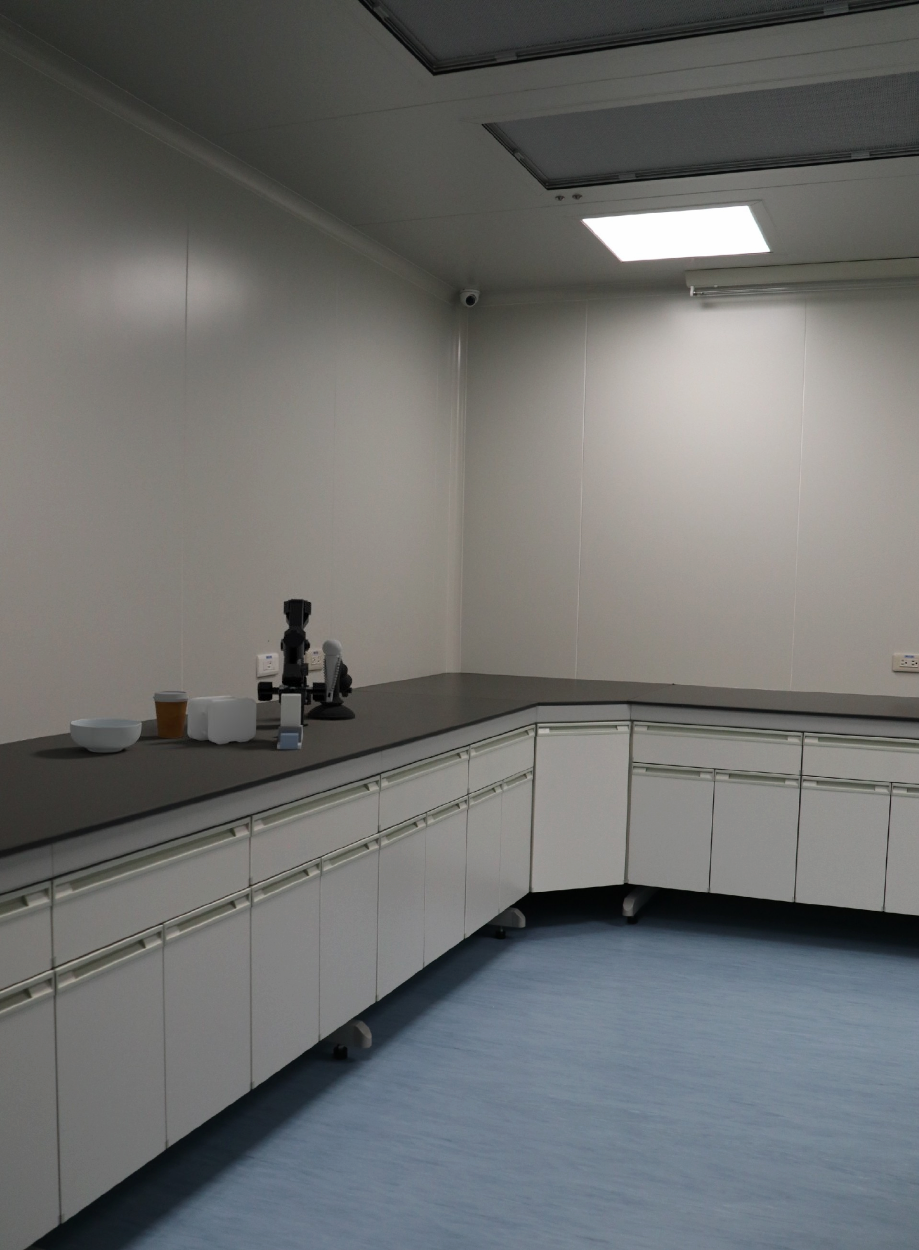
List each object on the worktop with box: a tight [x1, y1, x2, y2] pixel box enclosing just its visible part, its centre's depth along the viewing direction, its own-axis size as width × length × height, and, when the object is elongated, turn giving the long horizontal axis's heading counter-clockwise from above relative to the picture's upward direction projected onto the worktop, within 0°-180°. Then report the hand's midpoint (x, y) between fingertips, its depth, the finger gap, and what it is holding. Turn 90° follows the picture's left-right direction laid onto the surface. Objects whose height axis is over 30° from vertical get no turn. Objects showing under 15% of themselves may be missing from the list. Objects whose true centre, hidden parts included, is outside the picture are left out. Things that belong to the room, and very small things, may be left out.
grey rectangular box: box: [280, 694, 301, 726], centre depth 276 cm, size 5×5×12 cm
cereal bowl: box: [69, 717, 143, 754], centre depth 259 cm, size 17×17×7 cm
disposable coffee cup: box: [152, 690, 190, 739], centre depth 283 cm, size 10×10×12 cm
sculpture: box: [306, 638, 356, 721], centre depth 337 cm, size 15×24×25 cm, turn 170°
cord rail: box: [276, 725, 304, 750], centre depth 279 cm, size 24×6×5 cm, turn 7°
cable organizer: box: [186, 695, 257, 745], centre depth 278 cm, size 15×11×12 cm
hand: (291, 716), depth 281 cm, fingers closed
